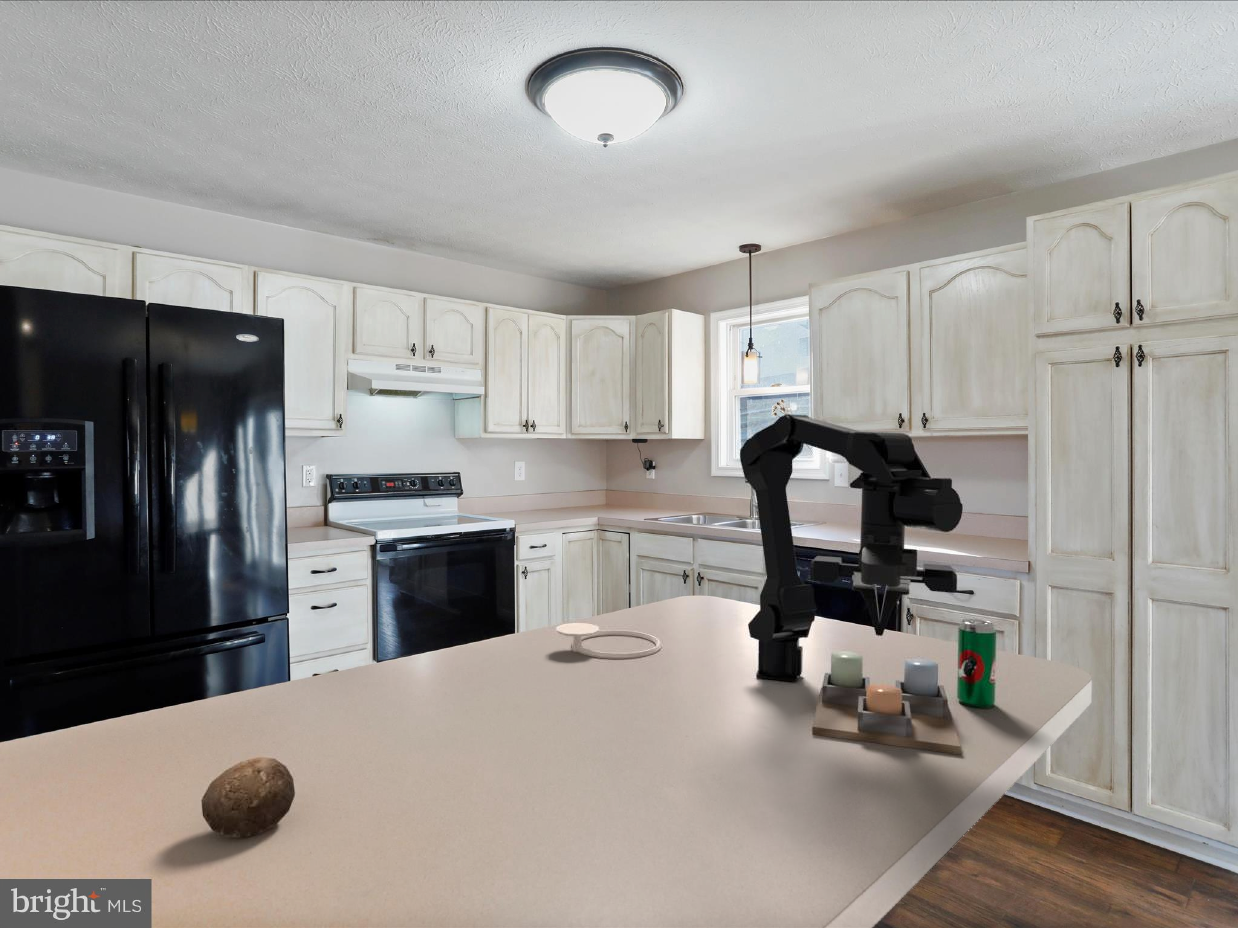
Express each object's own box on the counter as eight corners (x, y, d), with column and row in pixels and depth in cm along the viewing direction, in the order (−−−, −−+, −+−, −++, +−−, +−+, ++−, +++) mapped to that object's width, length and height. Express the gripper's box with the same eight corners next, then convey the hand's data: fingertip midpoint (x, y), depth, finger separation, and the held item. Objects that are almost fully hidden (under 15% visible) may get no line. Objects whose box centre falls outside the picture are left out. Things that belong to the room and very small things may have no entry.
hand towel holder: (678, 630, 130) (573, 642, 122) (678, 654, 131) (573, 667, 122) (636, 610, 146) (541, 619, 137) (636, 632, 146) (541, 642, 137)
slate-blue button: (904, 694, 100) (905, 665, 99) (903, 684, 104) (903, 656, 104) (938, 697, 98) (939, 669, 98) (936, 688, 102) (936, 660, 102)
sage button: (829, 685, 103) (830, 658, 103) (831, 676, 107) (831, 650, 107) (862, 689, 101) (862, 661, 101) (862, 679, 106) (862, 653, 105)
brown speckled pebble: (231, 768, 75) (237, 733, 72) (303, 794, 76) (313, 760, 73) (181, 840, 68) (186, 804, 65) (261, 868, 69) (270, 834, 66)
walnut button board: (812, 734, 93) (812, 708, 93) (820, 693, 109) (821, 671, 109) (960, 754, 87) (961, 726, 87) (947, 708, 103) (947, 685, 103)
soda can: (999, 710, 102) (1001, 627, 102) (961, 707, 103) (963, 625, 103) (989, 698, 107) (990, 619, 107) (952, 695, 108) (954, 617, 108)
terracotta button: (865, 723, 93) (866, 692, 93) (866, 711, 97) (866, 682, 97) (902, 728, 91) (902, 696, 91) (901, 716, 95) (901, 686, 95)
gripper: (806, 525, 94) (803, 642, 95) (962, 534, 88) (958, 660, 88) (815, 517, 105) (812, 622, 105) (955, 524, 98) (951, 637, 99)
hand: (879, 634), depth 99 cm, fingers closed
